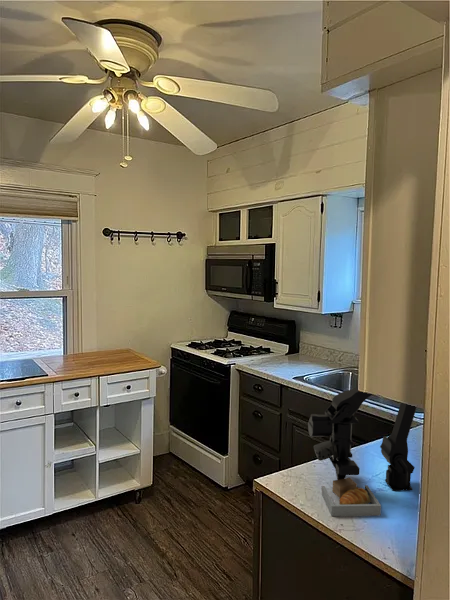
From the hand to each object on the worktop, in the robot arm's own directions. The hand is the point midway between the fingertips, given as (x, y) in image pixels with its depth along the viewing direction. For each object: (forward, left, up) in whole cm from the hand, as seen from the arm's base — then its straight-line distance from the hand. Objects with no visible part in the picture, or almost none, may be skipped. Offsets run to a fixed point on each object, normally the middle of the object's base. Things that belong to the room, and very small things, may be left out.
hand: (339, 482), depth 146 cm
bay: (0, +10, -2) cm, 10 cm away
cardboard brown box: (-1, +3, -2) cm, 4 cm away
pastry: (-2, +9, -2) cm, 10 cm away
